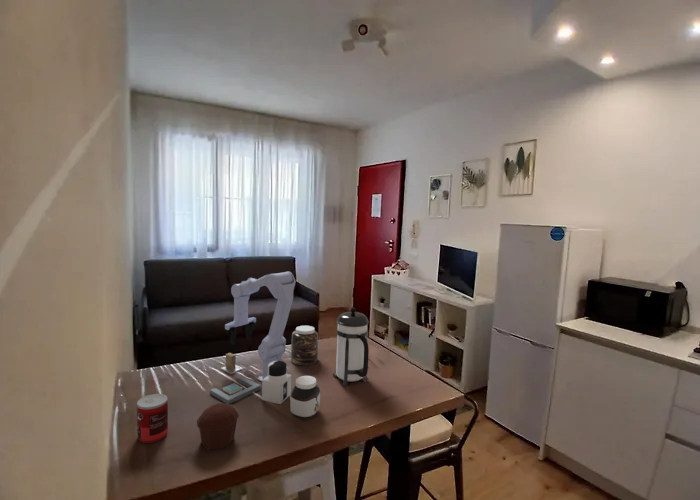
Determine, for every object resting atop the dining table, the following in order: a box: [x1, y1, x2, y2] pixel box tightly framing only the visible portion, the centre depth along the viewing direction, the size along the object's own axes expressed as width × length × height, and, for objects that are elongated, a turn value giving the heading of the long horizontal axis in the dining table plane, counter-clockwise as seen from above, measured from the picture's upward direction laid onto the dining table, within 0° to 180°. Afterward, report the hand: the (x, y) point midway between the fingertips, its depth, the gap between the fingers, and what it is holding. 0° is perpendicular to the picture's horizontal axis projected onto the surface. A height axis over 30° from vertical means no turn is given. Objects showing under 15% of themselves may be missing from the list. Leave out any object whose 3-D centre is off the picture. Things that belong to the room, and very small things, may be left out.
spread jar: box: [289, 375, 321, 420], centre depth 119 cm, size 12×11×12 cm
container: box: [261, 360, 292, 405], centre depth 127 cm, size 8×8×13 cm
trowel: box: [220, 352, 244, 375], centre depth 148 cm, size 6×7×6 cm
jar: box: [290, 325, 319, 366], centre depth 160 cm, size 12×12×15 cm
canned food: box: [136, 393, 169, 444], centre depth 103 cm, size 8×8×11 cm
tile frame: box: [209, 376, 262, 405], centre depth 130 cm, size 11×14×2 cm
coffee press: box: [332, 306, 370, 388], centre depth 142 cm, size 17×16×30 cm
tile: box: [222, 382, 243, 396], centre depth 132 cm, size 5×5×2 cm
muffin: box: [196, 402, 240, 451], centre depth 102 cm, size 12×11×10 cm
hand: (240, 341), depth 152 cm, fingers open, 7 cm apart
